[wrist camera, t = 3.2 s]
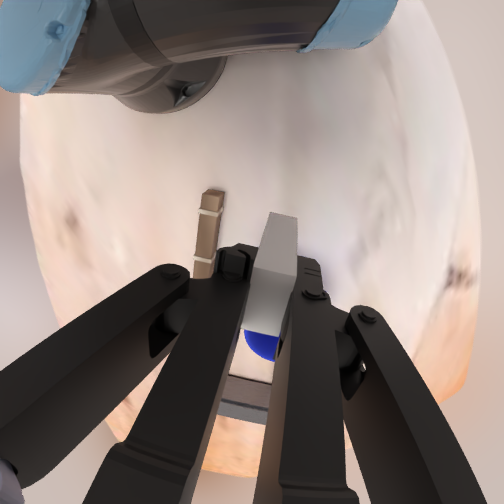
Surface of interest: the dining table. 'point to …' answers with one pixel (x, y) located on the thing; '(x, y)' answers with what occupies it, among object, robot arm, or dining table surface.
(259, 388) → the grooved grey block
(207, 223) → the brown and green stick
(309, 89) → the dining table surface
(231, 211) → the dining table surface
